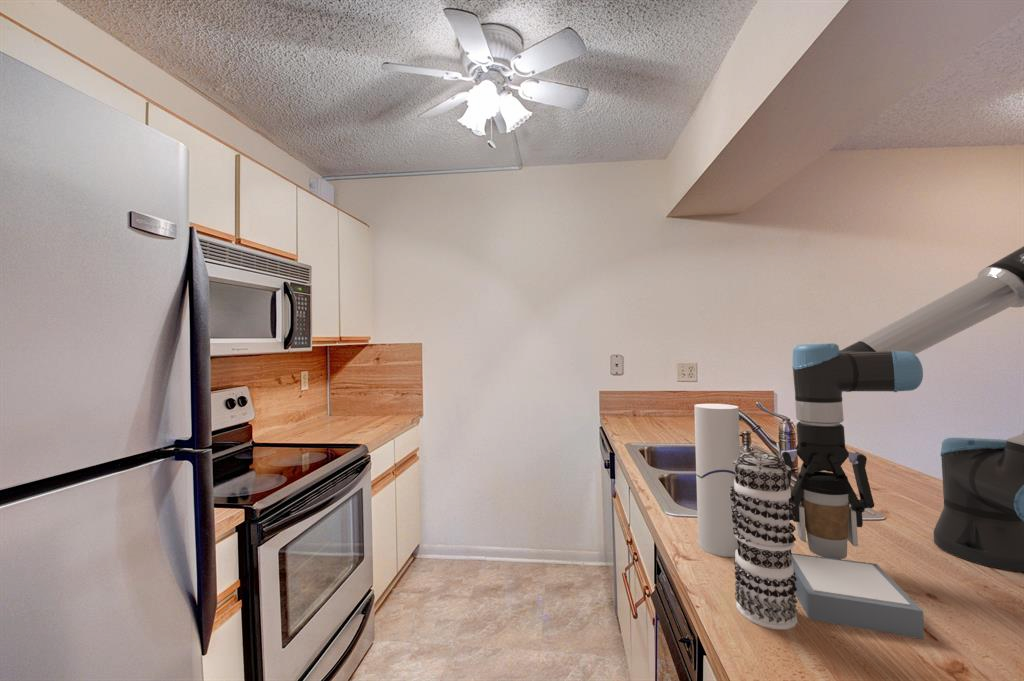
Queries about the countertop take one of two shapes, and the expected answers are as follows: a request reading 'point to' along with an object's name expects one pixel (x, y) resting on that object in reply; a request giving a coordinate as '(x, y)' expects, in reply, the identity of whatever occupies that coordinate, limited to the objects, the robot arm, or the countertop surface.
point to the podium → (854, 596)
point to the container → (716, 475)
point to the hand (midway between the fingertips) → (826, 540)
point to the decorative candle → (764, 541)
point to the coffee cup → (826, 514)
